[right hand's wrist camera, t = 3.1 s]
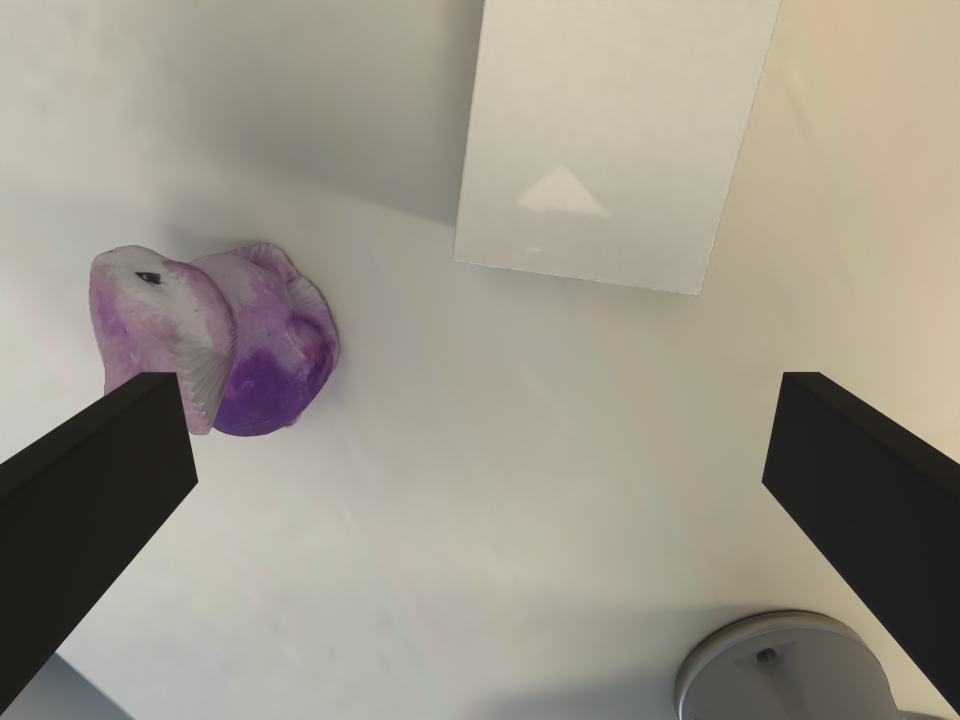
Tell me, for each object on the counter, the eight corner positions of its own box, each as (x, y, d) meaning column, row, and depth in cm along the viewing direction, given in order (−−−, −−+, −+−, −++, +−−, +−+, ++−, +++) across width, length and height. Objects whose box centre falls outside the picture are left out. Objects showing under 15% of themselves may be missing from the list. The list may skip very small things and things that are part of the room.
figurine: (218, 202, 32) (9, 243, 18) (377, 302, 34) (302, 411, 20) (151, 336, 34) (-76, 464, 20) (301, 421, 36) (188, 592, 22)
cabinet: (519, -239, 25) (543, -471, 16) (744, -198, 26) (895, -398, 16) (459, 229, 32) (451, 261, 23) (636, 255, 33) (699, 296, 23)
